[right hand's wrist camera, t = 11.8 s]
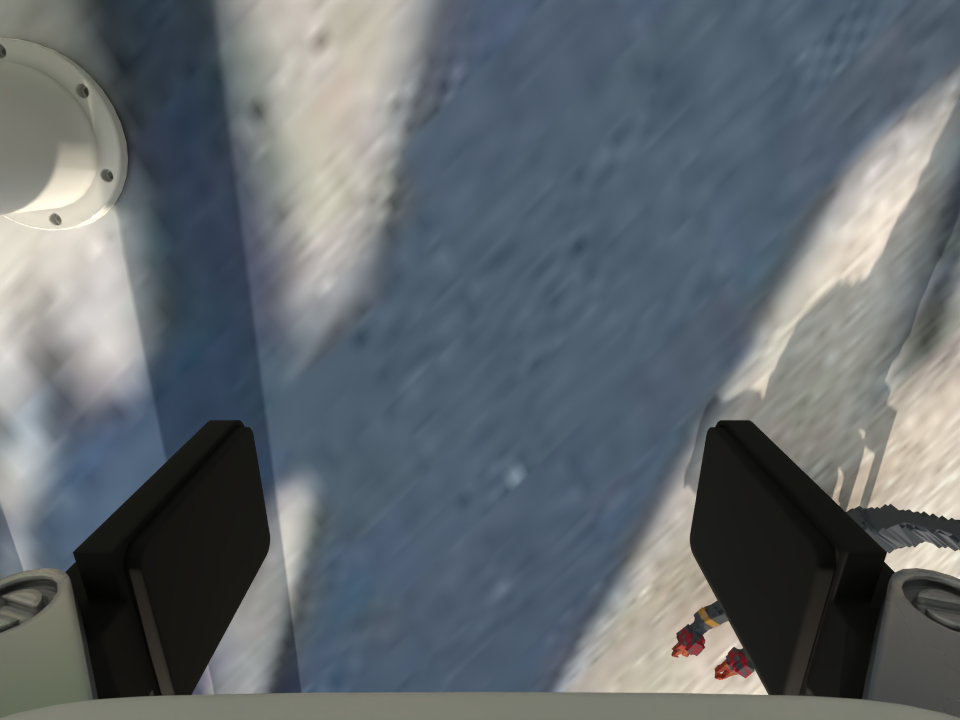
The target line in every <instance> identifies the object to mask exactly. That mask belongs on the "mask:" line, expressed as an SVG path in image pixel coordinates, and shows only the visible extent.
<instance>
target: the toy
mask: <svg viewBox="0 0 960 720" xmlns="http://www.w3.org/2000/svg"><path fill="white" fill-rule="evenodd" d="M846 513H847V514H848V515H849V516H850V517H851V518H852V519H853V520H854V521H855V522H856V523H857V524H858V525H859V526H860V527H861V528H862V529H863V530H864V531H865V532H866V533H868V534H869V535H870V536H871V537H872V538H873V539H874V540H875V541H876V542H877V543H878V544H879V545H880V546H881V547H882V548H883V549H884V550H885V551H886V552H888V553H891V552H892V551H893V550H894V549H897V548H903V547H906V546H907V547H911V546H912V545H913V546H914V547H916V546H917V545H918V544H919V543H923V542H924V541H926V542H929V543H933V544H934V545H936V546H937V547H938V548H941V547H942V546H943V547H944V548H946V547H950V548H951V549H953V550H954V551H956V550H958V549H959V550H960V520H954V519H953V518H951V519H949V520H947V519H946V518H945V517H943V516H941V517H940V518H938V517H937V516H936V515H934V514H931V515H930V516H929V515H928V514H927V513H925V512H922V513H921V514H920V513H919V512H914V513H913V512H912V511H911V510H906V511H905V510H898V509H897V508H895V507H894V506H893V505H891V504H890V505H889V506H887V505H886V504H885V505H884V506H883V507H881V508H880V509H879V508H878V507H876V508H875V509H874V508H872V507H871V508H868V509H863V508H862V507H860V506H859V507H857V508H855V509H851V510H849V511H847V512H846ZM694 617H695V621H694V622H693V623H692V624H691V625H689V624H688V625H687V626H685V627H684V628H683V629H682V630H680V631H679V632H678V633H677V639H678V643H677V644H676V645H675V646H674V647H673V648H672V650H673V652H672V656H674V657H678V656H677V655H679V654H681V653H682V655H683V656H685V657H688V655H689V654H690V655H693V654H694V655H696V656H697V655H698V654H700V653H701V652H702V650H703V649H704V648H705V646H704V644H705V639H704V637H703V634H704V633H706V632H707V631H708V630H709V629H712V628H714V627H717V626H719V625H721V624H722V623H724V622H726V621H729V620H728V618H727V617H726V615H725V613H724V611H723V609H722V607H721V606H720V604H719V602H718V601H716V602H715V603H713V604H711V605H709V606H706V607H704V608H703V607H702V608H701V609H700V610H699V611H698V612H696V613H695V614H694ZM678 658H679V657H678ZM726 658H727V659H726V660H725V661H724V662H723V663H722V664H720V665H718V666H717V667H716V668H715V678H716V679H719V680H722V679H725V678H727V677H729V676H732V675H737V674H740V675H741V676H743V677H744V678H746V677H748V676H749V675H750V674H751V673H753V672H754V671H755V670H754V667H753V665H752V663H751V661H750V659H749V657H748V656H747V654H746V652H745V650H744V648H743V649H737V648H735V647H733V648H732V649H731V650H730V651H729V652H728V655H727V656H726ZM722 671H724V672H723V673H722V674H720V672H722Z"/></svg>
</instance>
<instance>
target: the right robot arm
mask: <svg viewBox="0 0 960 720" xmlns="http://www.w3.org/2000/svg"><path fill="white" fill-rule="evenodd" d="M88 90H89V94H88ZM127 166H128V154H127V144H126V139H125V136H124V132H123V128H122V125H121V122H120V120H119V118H118V116H117V114H116V111H115V109H114V107H113V105H112V104H111V102H110V101H109V99H108V98H107V96H106V95H105V93H104V91H103V90H102V89H101V88H100V86H99V85H98V84H97V83H96V82H95V81H94V80H93V79H92V77H91V76H90V75H89V74H88V73H87V72H85V71H84V70H83V69H82V68H81V67H79V66H78V65H77V64H76V63H75V62H73V61H72V60H70V59H69V58H67V57H65V56H64V55H62V54H60V53H59V52H57V51H55V50H53V49H50V48H47V47H45V46H42V45H40V44H37V43H33V42H29V41H25V40H21V39H14V38H2V37H0V215H3V216H5V217H7V218H9V219H10V220H12V221H14V222H17V223H20V224H23V225H26V226H28V227H32V228H38V229H43V230H66V229H72V228H78V227H81V226H84V225H87V224H90V223H92V222H94V221H96V220H97V219H99V218H100V217H102V216H103V215H105V214H106V213H107V212H108V211H109V210H110V209H111V208H112V206H113V205H114V204H115V203H116V201H117V199H118V197H119V196H120V194H121V192H122V190H123V186H124V183H125V180H126V177H127ZM112 174H113V176H112ZM269 545H270V533H269V527H268V521H267V514H266V508H265V502H264V496H263V490H262V484H261V478H260V472H259V466H258V460H257V453H256V447H255V441H254V435H253V431H252V430H251V428H249V427H244V425H243V423H242V422H241V421H240V420H211V421H209V422H207V423H206V424H205V425H204V426H203V427H202V428H201V429H200V430H199V431H198V432H197V433H196V434H195V435H194V436H193V437H192V438H191V439H190V440H189V441H188V442H187V443H186V444H185V445H184V446H183V447H182V448H180V449H179V450H178V451H177V452H176V453H175V454H174V455H173V456H172V457H171V458H170V459H169V460H168V461H167V462H166V463H165V464H164V465H163V466H162V467H161V468H160V469H159V470H158V471H157V472H156V473H155V474H154V475H153V476H152V477H150V478H149V479H148V480H147V481H146V482H145V483H144V484H143V485H142V486H141V487H140V488H139V489H138V490H137V491H136V492H135V493H134V494H133V495H132V496H131V497H130V498H129V499H128V500H127V501H126V502H125V503H124V504H123V505H121V506H120V507H119V508H118V509H117V510H116V511H115V512H114V513H113V514H112V515H111V516H110V517H109V518H108V519H107V520H106V521H105V522H104V523H103V524H102V525H101V526H100V527H99V528H98V529H97V530H96V531H95V532H94V533H92V534H91V535H90V536H89V537H88V538H87V539H86V540H85V541H84V542H83V543H82V544H81V545H80V546H79V547H78V548H77V549H76V550H75V551H74V552H73V554H74V557H75V560H76V562H75V563H74V564H73V565H72V566H71V567H70V568H69V569H68V570H67V571H66V572H62V571H60V570H58V569H46V568H42V569H35V570H28V571H24V572H20V573H17V574H13V575H10V576H7V577H5V578H2V579H0V720H960V579H958V578H955V577H953V576H950V575H947V574H943V573H940V572H936V571H932V570H925V569H918V568H914V569H902V570H900V571H898V572H894V571H893V570H892V569H891V568H890V567H889V566H888V565H887V564H886V563H885V562H884V560H885V557H886V554H887V552H886V551H885V550H884V549H883V548H882V547H881V546H880V545H879V544H878V543H877V542H876V541H875V540H874V539H873V538H872V537H871V536H870V535H869V534H868V533H866V532H865V531H864V530H863V529H862V528H861V527H860V526H859V525H858V524H857V523H856V522H855V521H854V520H853V519H852V518H851V517H850V516H849V515H848V514H847V513H846V512H845V511H844V510H843V509H842V508H841V507H840V506H839V505H837V504H836V503H835V502H834V501H833V500H832V499H831V498H830V497H829V496H828V495H827V494H826V493H825V492H824V491H823V490H822V489H821V488H820V487H819V486H818V485H817V484H816V483H815V482H814V481H813V480H812V479H811V478H810V477H808V476H807V475H806V474H805V473H804V472H803V471H802V470H801V469H800V468H799V467H798V466H797V465H796V464H795V463H794V462H793V461H792V460H791V459H790V458H789V457H788V456H787V455H786V454H785V453H784V452H783V451H782V450H781V449H780V448H778V447H777V446H776V445H775V444H774V443H773V442H772V441H771V440H770V439H769V438H768V437H767V436H766V435H765V434H764V433H763V432H762V431H761V430H760V429H759V428H758V427H757V426H756V425H755V424H754V423H753V422H751V421H749V420H720V421H719V422H718V423H717V425H716V427H711V428H709V430H708V431H707V435H706V441H705V447H704V453H703V460H702V466H701V472H700V478H699V484H698V490H697V496H696V502H695V508H694V514H693V521H692V527H691V533H690V545H691V550H692V553H693V555H694V557H695V559H696V561H697V563H698V565H699V567H700V568H701V570H702V572H703V574H704V576H705V578H706V580H707V581H708V583H709V585H710V587H711V589H712V591H713V593H714V594H715V596H716V598H717V600H718V602H719V604H720V606H721V607H722V609H723V611H724V613H725V615H726V617H727V618H728V620H729V622H730V624H731V626H732V628H733V630H734V631H735V633H736V635H737V637H738V639H739V641H740V643H741V644H742V646H743V648H744V650H745V652H746V654H747V656H748V657H749V659H750V661H751V663H752V665H753V667H754V669H755V670H756V672H757V674H758V676H759V678H760V680H761V682H762V683H763V685H764V687H765V689H766V691H767V693H768V695H737V694H688V693H561V692H399V693H272V694H223V695H192V693H193V691H194V689H195V687H196V685H197V683H198V682H199V680H200V678H201V676H202V674H203V672H204V670H205V669H206V667H207V665H208V663H209V661H210V659H211V657H212V656H213V654H214V652H215V650H216V648H217V646H218V644H219V643H220V641H221V639H222V637H223V635H224V633H225V631H226V630H227V628H228V626H229V624H230V622H231V620H232V618H233V617H234V615H235V613H236V611H237V609H238V607H239V606H240V604H241V602H242V600H243V598H244V596H245V594H246V593H247V591H248V589H249V587H250V585H251V583H252V581H253V580H254V578H255V576H256V574H257V572H258V570H259V568H260V567H261V565H262V563H263V561H264V559H265V557H266V555H267V553H268V550H269Z"/></svg>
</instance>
